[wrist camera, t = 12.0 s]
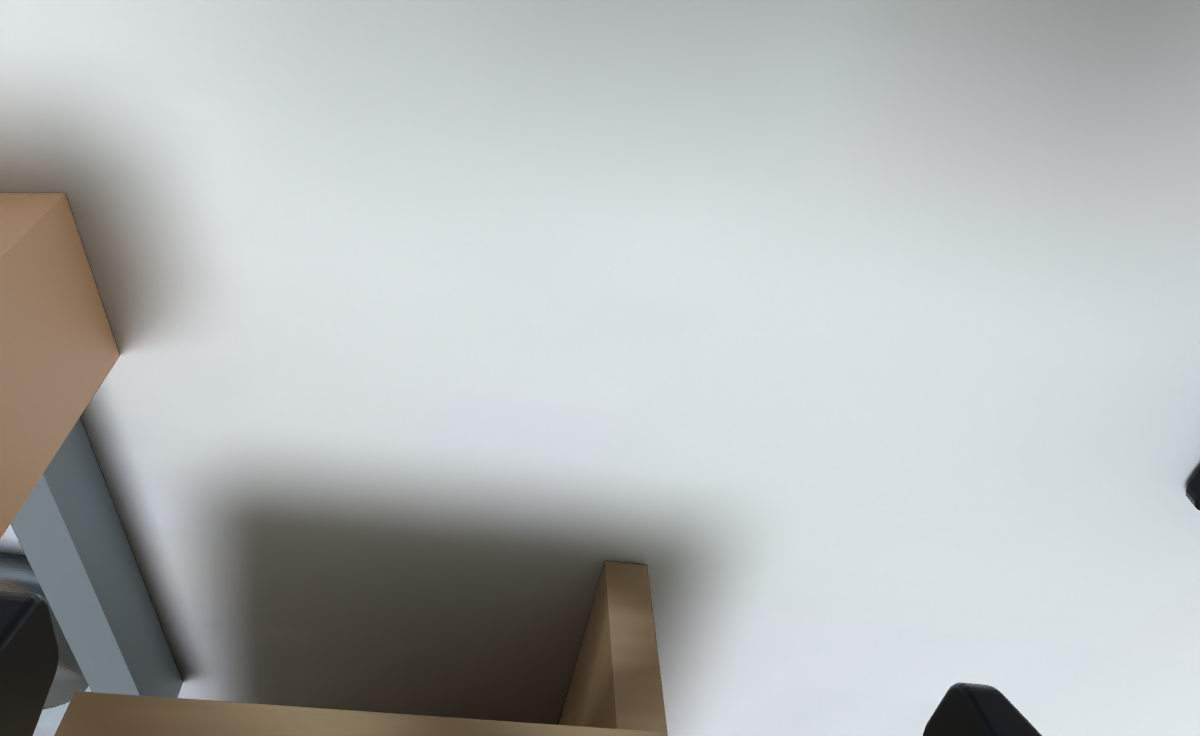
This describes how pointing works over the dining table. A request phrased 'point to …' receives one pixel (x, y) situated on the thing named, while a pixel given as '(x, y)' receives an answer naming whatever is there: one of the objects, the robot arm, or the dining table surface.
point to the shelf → (585, 732)
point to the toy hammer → (67, 451)
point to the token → (19, 577)
